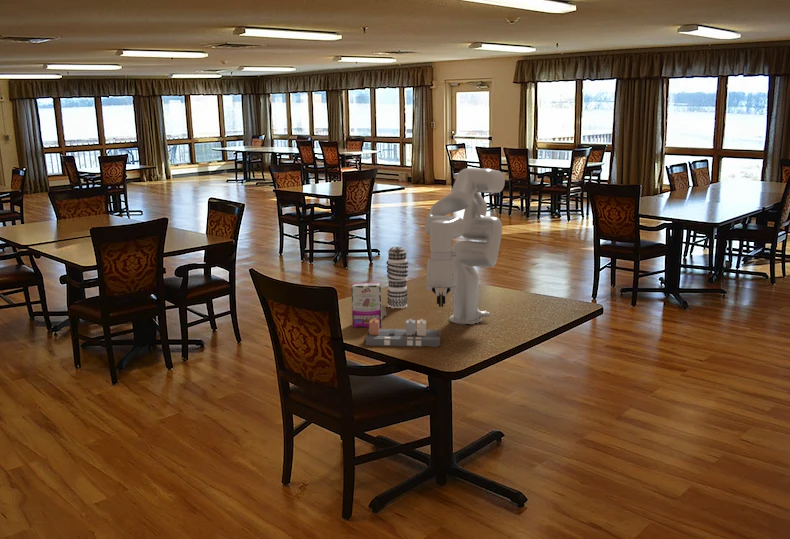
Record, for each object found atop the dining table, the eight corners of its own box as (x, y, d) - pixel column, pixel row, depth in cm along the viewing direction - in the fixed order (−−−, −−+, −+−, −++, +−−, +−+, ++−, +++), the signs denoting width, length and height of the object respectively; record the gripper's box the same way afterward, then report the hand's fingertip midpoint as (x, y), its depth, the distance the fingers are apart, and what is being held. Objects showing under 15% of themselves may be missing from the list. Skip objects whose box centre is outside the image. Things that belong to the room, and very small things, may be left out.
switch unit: (439, 336, 266) (440, 327, 265) (439, 346, 254) (440, 337, 253) (369, 335, 267) (369, 326, 267) (365, 345, 255) (365, 336, 255)
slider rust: (379, 331, 263) (379, 317, 261) (378, 334, 259) (378, 321, 258) (370, 331, 263) (370, 317, 262) (369, 334, 259) (369, 320, 258)
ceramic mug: (376, 322, 283) (376, 303, 281) (359, 319, 287) (359, 300, 286) (391, 316, 292) (391, 298, 290) (374, 313, 296) (374, 295, 294)
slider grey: (415, 332, 262) (415, 318, 261) (414, 335, 258) (414, 321, 257) (406, 332, 262) (406, 318, 261) (405, 335, 258) (405, 321, 257)
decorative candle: (395, 310, 300) (395, 250, 295) (382, 305, 308) (381, 247, 302) (412, 306, 306) (412, 248, 301) (398, 302, 313) (398, 245, 308)
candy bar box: (381, 323, 282) (381, 282, 278) (381, 327, 277) (381, 285, 273) (352, 323, 282) (352, 282, 278) (352, 327, 277) (351, 285, 273)
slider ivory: (426, 332, 262) (426, 318, 260) (425, 335, 258) (426, 321, 257) (417, 332, 262) (417, 318, 261) (416, 335, 258) (416, 321, 257)
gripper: (462, 253, 256) (461, 302, 261) (419, 253, 257) (420, 302, 262) (462, 257, 249) (462, 309, 254) (419, 258, 250) (419, 309, 255)
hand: (441, 305), depth 258 cm, fingers closed
